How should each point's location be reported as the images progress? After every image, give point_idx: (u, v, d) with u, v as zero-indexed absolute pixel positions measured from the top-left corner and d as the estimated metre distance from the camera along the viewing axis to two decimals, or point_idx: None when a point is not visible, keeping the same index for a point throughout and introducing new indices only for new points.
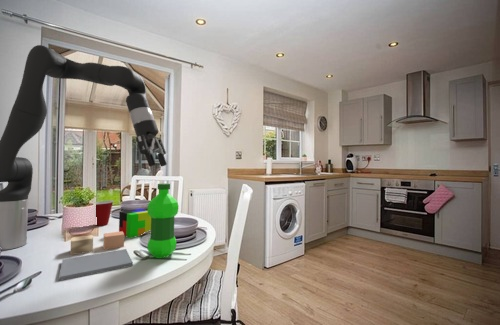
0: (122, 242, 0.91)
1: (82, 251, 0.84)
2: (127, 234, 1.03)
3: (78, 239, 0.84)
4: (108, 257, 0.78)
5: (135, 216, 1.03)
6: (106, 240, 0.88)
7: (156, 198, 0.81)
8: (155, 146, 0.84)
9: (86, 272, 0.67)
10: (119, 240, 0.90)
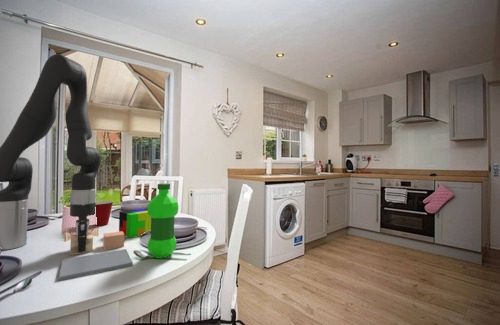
0: (122, 242, 0.91)
1: None
2: (127, 234, 1.03)
3: None
4: (108, 257, 0.78)
5: (135, 216, 1.03)
6: (106, 240, 0.88)
7: (156, 198, 0.81)
8: None
9: (86, 272, 0.67)
10: (119, 240, 0.90)
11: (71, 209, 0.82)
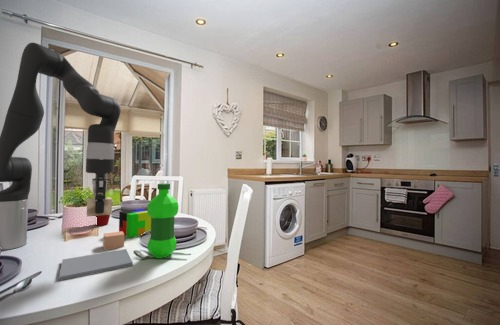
0: (122, 242, 0.91)
1: None
2: (127, 234, 1.03)
3: None
4: (108, 257, 0.78)
5: (135, 216, 1.03)
6: (106, 240, 0.88)
7: (156, 198, 0.81)
8: None
9: (86, 272, 0.67)
10: (119, 240, 0.90)
11: (87, 164, 0.72)
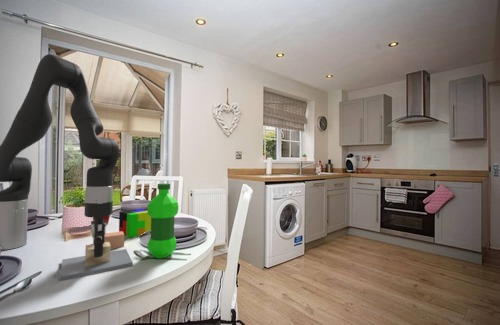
0: (122, 242, 0.91)
1: (98, 260, 0.73)
2: (127, 234, 1.03)
3: None
4: None
5: (135, 216, 1.03)
6: (106, 240, 0.88)
7: (156, 198, 0.81)
8: None
9: (86, 272, 0.67)
10: (119, 240, 0.90)
11: (86, 209, 0.72)
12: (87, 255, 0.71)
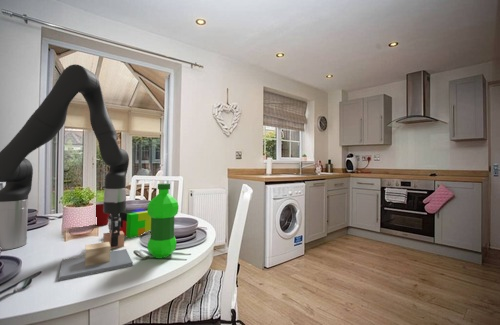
0: (122, 242, 0.91)
1: (98, 260, 0.73)
2: (127, 234, 1.03)
3: (94, 247, 0.73)
4: None
5: (135, 216, 1.03)
6: (106, 240, 0.88)
7: (156, 198, 0.81)
8: None
9: (86, 272, 0.67)
10: (119, 240, 0.90)
11: (105, 207, 0.88)
12: (87, 255, 0.71)
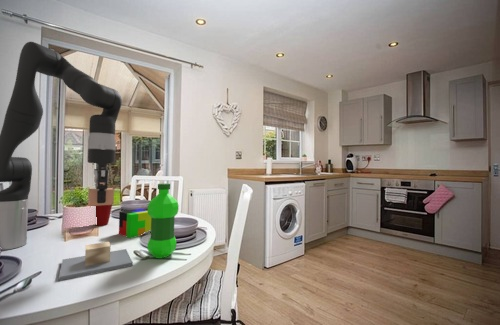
0: (111, 198, 0.75)
1: (98, 260, 0.73)
2: (127, 234, 1.03)
3: (94, 247, 0.73)
4: None
5: (135, 216, 1.03)
6: (91, 194, 0.72)
7: (156, 198, 0.81)
8: None
9: (86, 272, 0.67)
10: (108, 196, 0.75)
11: (89, 154, 0.72)
12: (87, 255, 0.71)
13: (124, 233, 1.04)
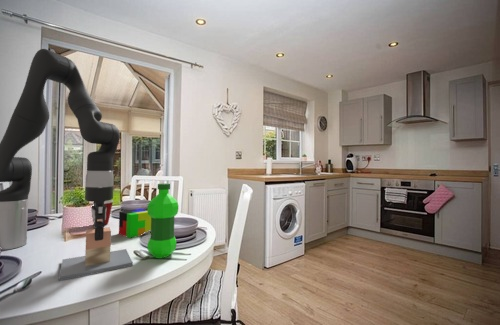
0: (108, 240, 0.74)
1: (98, 260, 0.73)
2: (127, 234, 1.03)
3: None
4: None
5: (135, 216, 1.03)
6: (88, 238, 0.71)
7: (156, 198, 0.81)
8: None
9: (86, 272, 0.67)
10: (105, 238, 0.74)
11: (87, 193, 0.72)
12: (87, 255, 0.71)
13: (124, 233, 1.04)
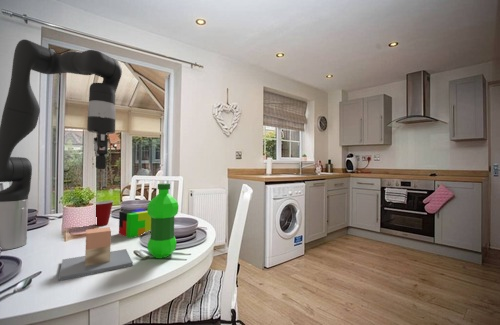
0: (108, 240, 0.74)
1: (98, 260, 0.73)
2: (127, 234, 1.03)
3: None
4: None
5: (135, 216, 1.03)
6: (88, 238, 0.71)
7: (156, 198, 0.81)
8: None
9: (86, 272, 0.67)
10: (105, 238, 0.74)
11: (89, 122, 0.72)
12: (87, 255, 0.71)
13: (124, 233, 1.04)
